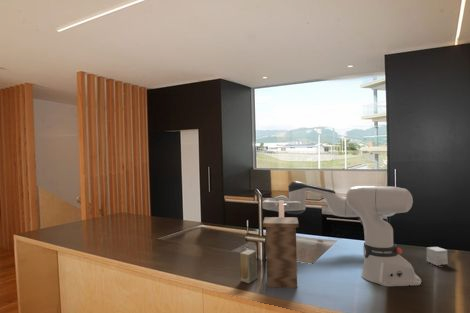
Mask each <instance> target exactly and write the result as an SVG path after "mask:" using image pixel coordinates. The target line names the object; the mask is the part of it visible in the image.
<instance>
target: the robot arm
mask: <svg viewBox="0 0 470 313" xmlns="http://www.w3.org/2000/svg"><path fill="white" fill-rule="evenodd" d="M287 187H288V197H287V196H286V195H283V194H281V195H278V196H275V197H267V198H265V199H264V200H262V209H264V210H267V211H274V212H278V213H279V200H284V213H285V212H286V213H287V214H291V215H300V214H302V213H304V212H305V211H306V205H307V204H306V201H307V200H306V199H307V198H306V197H307V192H311V193H314V194H319V195H321V196H322V197H323V198H324V200H325V202H326V205H327V208H328V210H329V211H330V213H331V214H333V216H336V217H343V218H357V217H358V218H357V220H358V221H360V224H361V226H363V233H364V234H363V235H364V243H363V256H364V258H363V260H364V261H363V267H362V271H361V277H362V278H363V279H364V280H366V281H368V282H372V283H375V284H379V285H381V286H384V287H406V286H407V287H409V285H410V286H421V285H422V284H421V282H422V279H421V278H420V276H418V275H417V274H416V272H415V269H414V267H413V265H412V264H411V263H410V262H409V261H408V260H406V259H405V258H404V257H402V256H401V255H400V254H402V253H403V249H402V248H400V247H398V246H396V245H395V244H394V228H393V227H392V225H391V224H390V223H389V222H388V221H387V220H384V219H383V218H384V217H392V216H394V215H396V214H401V213H403V214H404V213H408V212H409V211H410V210H411V208H412V207H413V204H414V200H413V195H412V193H411V192H410V190H408V189H407V188H404V187H398V186H390V185H389V186H381V185H355V186H351V187H350V188H349V189H348V190H347V192H346V196H342V195H339V194H337V193H336V191H335V190H332V189H330V188H325V187H322V186H319V185H318V186H317V185H315V184H314V185H313V184H307V183H305V182H303V181H300V180H294V181H291V182H290V184H289V185H288V186H287ZM420 284H421V285H420Z"/></svg>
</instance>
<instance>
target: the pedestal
mask: <svg viewBox="0 0 470 313" xmlns="http://www.w3.org/2000/svg"><path fill="white" fill-rule="evenodd" d="M262 227H263V228H265V244H266V245H265V246H266V247H265V250H266V251H265V252H266V259H265V260H266V286H267V288H286V289H287V288H289V289H298V266H297V265H298V261H297V228H299V220H298V217H293V216H292V217H290V216H289V217H287V216H286V217H285V216H284V217H279V216H277V217H276V216H274V217H273V216H272V217H270V216H269V217H268V216H265V217H264V219H263V222H262Z"/></svg>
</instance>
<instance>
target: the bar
mask: <svg viewBox="0 0 470 313" xmlns="http://www.w3.org/2000/svg"><path fill="white" fill-rule="evenodd" d="M278 217H285V212H284V200H279V212H278Z"/></svg>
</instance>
